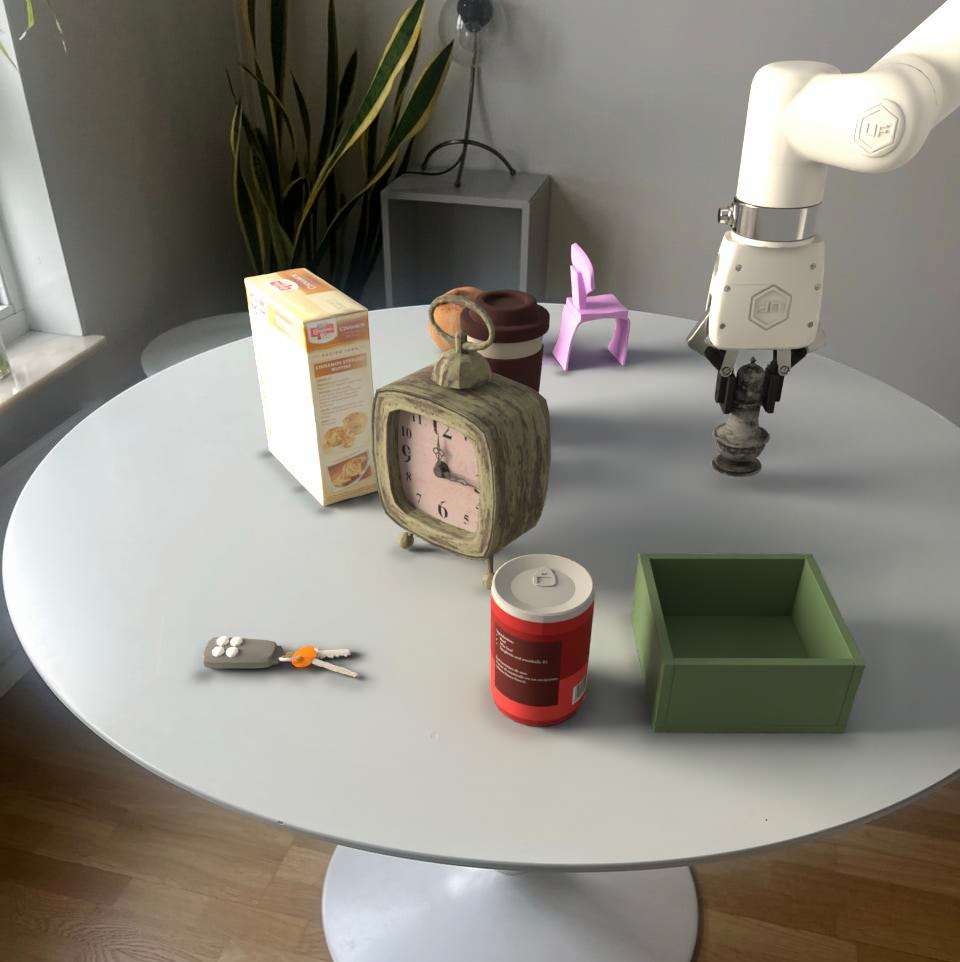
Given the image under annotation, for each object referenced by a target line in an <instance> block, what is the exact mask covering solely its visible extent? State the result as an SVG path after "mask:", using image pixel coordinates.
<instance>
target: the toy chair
mask: <svg viewBox="0 0 960 962" xmlns="http://www.w3.org/2000/svg"><path fill="white" fill-rule="evenodd" d="M570 257H571V263H572V265H570V266H569V267H570V279H571V294H572V296H569V297H568V296H567V297H566V302H565V305H564V306H563V309H562V313H561V323H560V330H559V334H558V336H557V337H558V338H557V340H556V343H555V345H554V347H553V349H552V355H553V356H554V358H555V359H556V360H557V362H558V363H559V365H560V366H561V368H562V369H563V370H564V371H568V369H569V361H570V355H571V349H572V345H573V341H574V338H575V336H576V333H577V331H578V329H579V327H580V325H582V324H583V323H586V322H591V321H597V320H604V319H605V320H606V319H614V320H615V327H614V331H613V335H612V337H611V339H610V342H609V343H608V346H607V349H608V351H609V352H610V353H611V354H612V355H613V357H614V358H615V359H616V361H618V363H619V364H620V365H621V366H625V365H626V359H627V352H628V344H629V338H630V332H631V319H630V318H629V316H628V315H629V310H628V308H627V307H625V306H624V304H622V303H621V302H620V301H619V300H618V299H617V297H616V296H615V295H614V294H613V293H608V294H600V295H599V294H598V295H592V296H588V294H590V293H592V292H593V291H595V290H596V284H595V283H596V282H595V272H594V266H593V264H592V262H591V260H590V258H589V256H588V255H587V253H586V252H585V251H584V250H583V249H582V247H581V246H580V245H579V244H578V243H577V242H574V243H572V244H571V247H570Z"/></svg>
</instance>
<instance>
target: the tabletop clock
mask: <svg viewBox="0 0 960 962" xmlns="http://www.w3.org/2000/svg"><path fill="white" fill-rule="evenodd" d="M444 294H445V293H444ZM444 294H442V295H439V296H437V297H436V298H435V299H434V300H432V302H431V303H430V306H429V308H428V322H429V321H430V323H431V326H432V328H433V329H434V331H435V332H436V334H437V335H438V336H439V337H441V338H442V339H443V340H444V341H446V342H447V343H449V344H451V345H453V346H455V348H454V349H451V350H448V351H446V352H442V353H441V355H439V356H438V357H437V360H436V361H435V362H434V363H431V364H429V365H427V366H425V367H423V368H420V369H419V370H416V371H414V372H412V373H410V374H408V375H405V376H403V377H401V378H399V379H396V380H394V381H392V382H390V383H388V384H385V385H384V386H381V387H379V388H377V389H376V390H375V394H374V400H373V406H372V418H371V424H372V454H373V462H374V469H375V477H376V484H377V488H378V491H377V492H378V495H379V496H378V497H379V500H380V503H381V506H382V508H383V511H384V514H385V515H386V516H387V517H388V518H389V519H390V520H391V521H392V522H393V523H394V524H396V525H397V526H398V527H400V528H401V529H403V530H405V531H404V532H402V533H401V532H400V534H399V536H398V538H397V544H398V546H399V547H400V548H401V549H403V550H408V549H410V548H412V547H414V544H415V537H417V538H419V539H421V540H423V541H424V542H426V543H427V544H430V545H432V546H433V547H436V548H438V549H441V550H444V551H446V552H448V553H450V554H451V553H452V554H453V555H457V556H458V557H462V558H464V559H468V560H472V561H485V565H486V570H487V573H485V574H484V576H483V577H482V585H483V587H484V588H485V590H488V591H489V590H490V591H491V587H492V580H493V576H494V574H495V573H496V572H494V558H495V554H497V553H498V552H499V551H501V550H502V549H504V548H505V547H507V546H508V545H510V544H512V543H513V542H514V541H516V540H517V539H518V538H520V537H522V536H523V535H525V534H526V533H528V532H529V531H531V530H532V529H534V528H535V527H536V526H537V524H538V522H539V521H540V519H541V517H542V512H543V511H544V506H545V503H546V499H547V495H548V489H549V482H550V481H549V480H550V470H551V463H552V462H551V461H552V460H551V459H552V424H551V413H550V409H549V406H548V405H549V404H548V402H547V398H545V397H544V396H543V395H542V394H541V393H540V392H539V393H538V392H537V391H535V390H534V389H532V388H530V387H528V386H526V385H523V384H521V383H518V382H516V381H513V380H511V379H508V378H506V377H503V376H501V375H498V374H495V373H492V371H491V368H490V365H489V363H488V362H487V360H486V358H485V357H483V356H482V355H481V354H480V353H478V352H477V351H480V350H485V349H486V348H488V347H489V346H490V345H491V344H492V342H493V340H494V337H495V329H494V325H493V322H492V319H491V318H490V316H489V315H488V313H487V312H486V311H485V310H484V309H483V308H482V307H481V306H480V305H479V304H478V303H476V302H474V301H472V300H470V299H468V298H466V297H462V296H459V295H453V294H445V295H444ZM446 302H447V303H455V304H459V305H462V306H465V307H467V308H469V309H472V310H474V311H475V312H476V313H477V314H479V315H480V316H481V317H482V319H483V320H484V321H485V323H486V325H487V327H488V329H489V338H488V340H487V341H485V342H483V343H472V342H469V341H467V332H466V331H464V330H458V331H456V333H455V337H453V336H451V335H449V334H448V333H446V332H445V331H443V330H442V329H441V328H440V327H439V326H438V325H437V324H436V322H435V319H434V311H435V309H436V307H438V306H439V305H440V304H442V303H446ZM414 536H415V537H414Z"/></svg>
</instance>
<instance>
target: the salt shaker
mask: <svg viewBox="0 0 960 962" xmlns="http://www.w3.org/2000/svg"><path fill="white" fill-rule="evenodd" d="M757 361H758V360H757V359H756V357H755V356H754V355H753V356H752V357H750V359H749V363H746V364H744V365H742V366H740V367H739V368H738V369H737V371H736V375H735V376H736V386H735V392H734V399H733V406H732V412H731V413H729V414H728V415H729V416H728V419H727V421H726V422H724V423H721V424H719V425H717V426H716V427H714V429H713V430H712V437H713V438H714V446H715V449H716V451H717V452H718V454H717V455H715V456H713V458H712V459H711V463H710V464H711V467H712V469H714V470H715V471H716V472H718V473H720V474H721V475H725V476H728V477H736V478H747V477H752V476H755V475H757V474H759V473H760V472H761V471H762V469H763V464H762V462H761V461H760V460H759V459H758V457H759V456H761V454H762V453H763V451H764V450H765V449H766V445H767V444H768V443H769V442H770V440H771V435H770V432H768V429H766V428H764V427H762V426H761V425H760V414H761V409H762V407H763V406H762V405H764V403H765V400H764V399H763V397H762V392H763V386H764V380H765V368H763V367H762V366H761V365H759V364H757V363H756V362H757Z"/></svg>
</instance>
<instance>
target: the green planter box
mask: <svg viewBox="0 0 960 962" xmlns="http://www.w3.org/2000/svg"><path fill="white" fill-rule="evenodd" d="M635 573H636V574H635V582H634V590H633V599H632V605H631V615H630V619H631V625H632V629H633V635H634V640H635V645H636V649H637V654H638V659H639V664H640V665H639V666H640V670H641V675H642V680H643V685H644V690H645V696H646V701H647V705H648V711H649V715H650V720H651V721H650V722H651V726H652V731H653V733H711V734H712V733H713V734H715V733H719V734H720V733H728V734H729V733H734V734H735V733H737V734H738V733H740V734H741V733H743V734H745V733H746V734H747V733H749V734H750V733H751V734H752V733H755V734H756V733H758V734H759V733H760V734H761V733H763V734H765V733H767V734H770V733H773V734H777V733H779V734H780V733H781V734H787V733H789V734H790V733H791V734H797V733H799V734H845V731H846V728H847V725H848V721H849V718H850V716H851V712H852V709H853V706H854V702H855V700H856V697H857V694H858V690H859V687H860V685H861V682H862V678H863V675H864V672H865V669H866V663H865V661H864V659H863V656H862V654H861V652H860V650H859V648H858V646H857V643H856V642H855V640H854V638H853V636H852V634H851V631H850V630H849V627H848V625H847V622H846V621H845V619H844V617H843V615H842V613H841V611H840V609H839V607H838V604H837V603H836V600H835V598H834V596H833V594H832V591H831V589H830V587H829V586H828V584H827V582H826V579H825V578H824V575H823V573H822V572H821V569H820V567H819V565H818V563H817V561H816V558H815V556H814V554H813V553H734V552H733V553H731V552H730V553H727V552H726V553H724V552H723V553H721V552H719V553H717V552H715V553H710V552H709V553H707V552H706V553H703V552H702V553H700V552H699V553H698V552H697V553H694V552H693V553H691V552H690V553H688V552H687V553H685V552H683V553H681V552H680V553H678V552H677V553H676V552H675V553H673V552H672V553H671V552H670V553H669V552H668V553H666V552H665V553H664V552H663V553H661V552H660V553H659V552H658V553H657V552H654V553H653V552H652V553H651V552H649V553H647V552H639V553H638V555H637V565H636V572H635Z"/></svg>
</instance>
